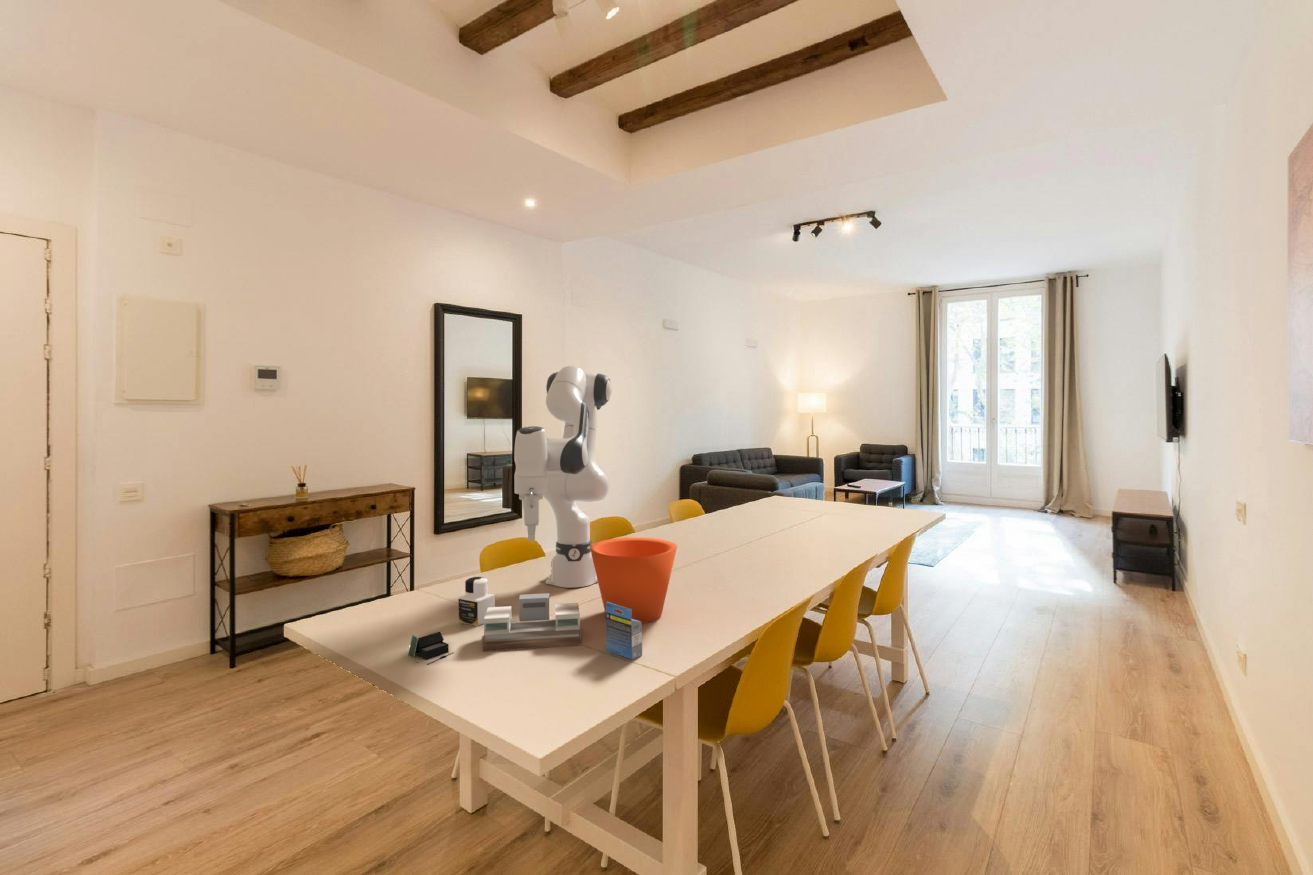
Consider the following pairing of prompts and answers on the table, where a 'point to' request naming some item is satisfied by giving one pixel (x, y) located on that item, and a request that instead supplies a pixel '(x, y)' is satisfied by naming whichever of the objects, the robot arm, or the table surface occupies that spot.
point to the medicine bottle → (475, 601)
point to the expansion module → (534, 607)
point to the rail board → (531, 629)
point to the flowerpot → (634, 574)
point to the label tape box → (623, 632)
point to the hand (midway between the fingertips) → (531, 537)
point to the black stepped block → (428, 646)
